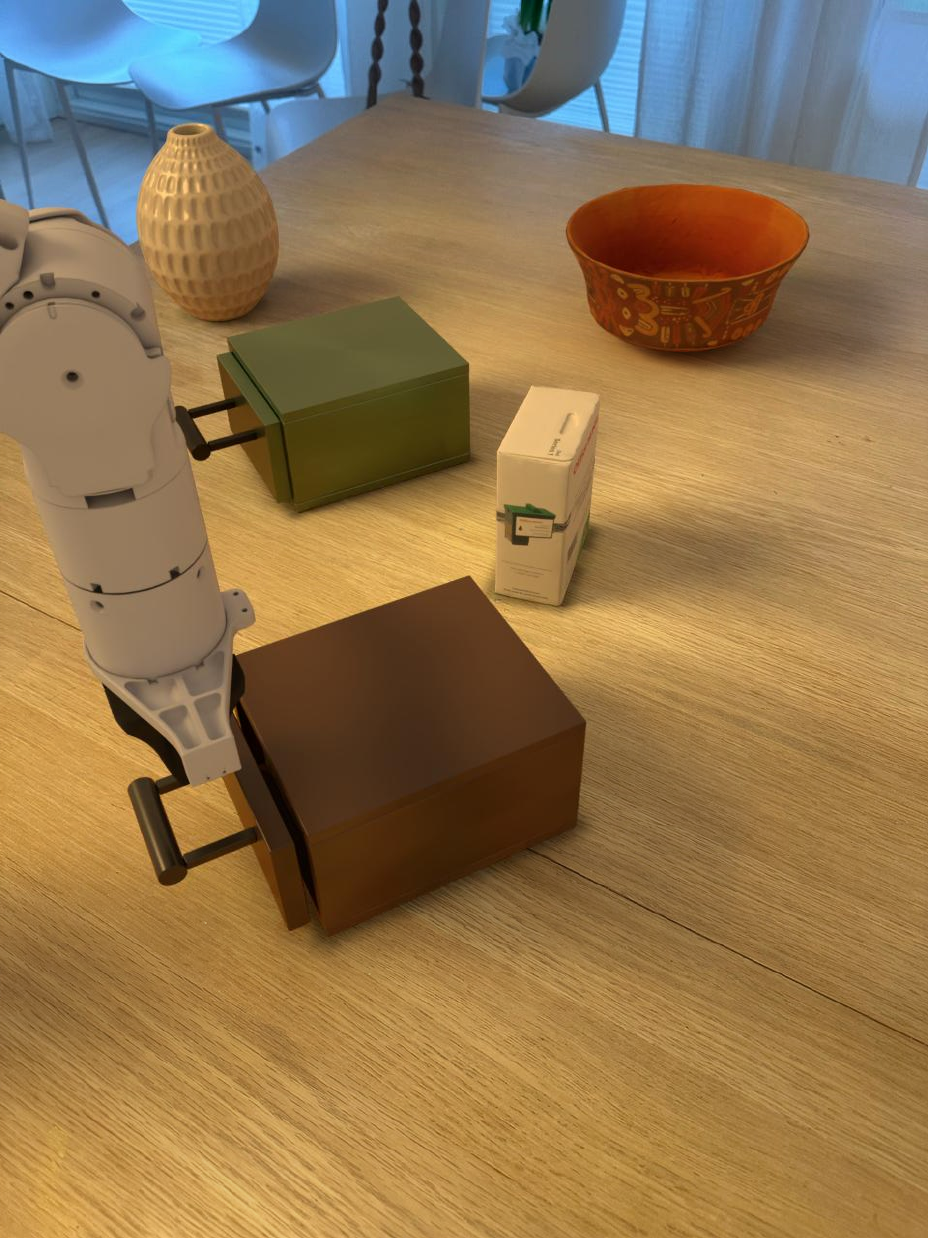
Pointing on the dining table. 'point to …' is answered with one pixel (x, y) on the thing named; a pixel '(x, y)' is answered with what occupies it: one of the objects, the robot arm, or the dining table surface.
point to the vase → (207, 225)
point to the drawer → (242, 427)
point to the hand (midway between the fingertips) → (199, 769)
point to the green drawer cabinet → (360, 398)
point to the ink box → (544, 493)
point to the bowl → (684, 262)
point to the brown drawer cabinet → (410, 748)
